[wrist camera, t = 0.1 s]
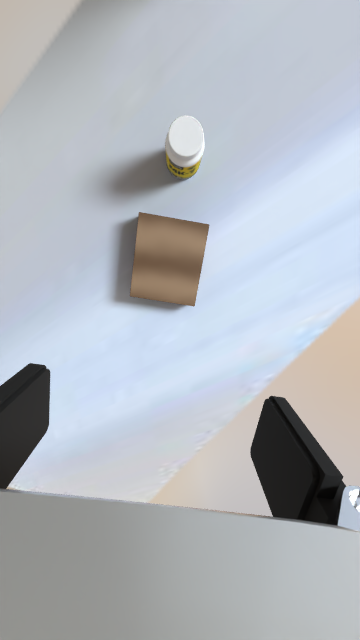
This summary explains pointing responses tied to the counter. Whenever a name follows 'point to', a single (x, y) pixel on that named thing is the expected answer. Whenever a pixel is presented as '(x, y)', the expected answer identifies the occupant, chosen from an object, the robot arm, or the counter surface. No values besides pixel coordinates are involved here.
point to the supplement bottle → (184, 147)
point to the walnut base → (168, 259)
